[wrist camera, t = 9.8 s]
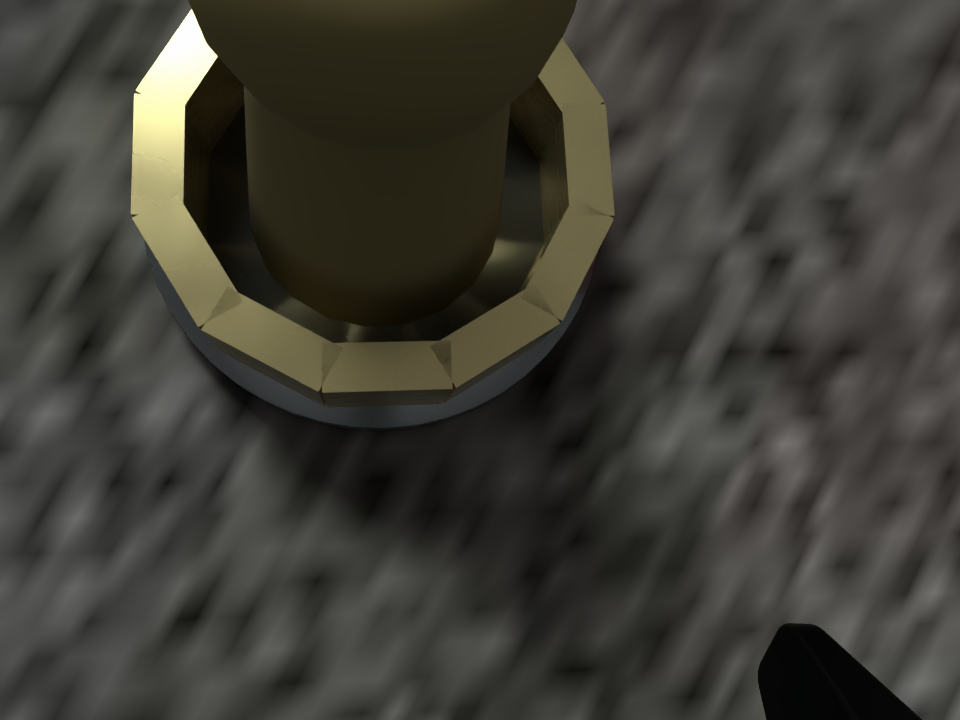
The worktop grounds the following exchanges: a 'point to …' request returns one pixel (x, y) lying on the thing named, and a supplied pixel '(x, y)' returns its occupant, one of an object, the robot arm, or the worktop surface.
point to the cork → (379, 140)
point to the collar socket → (345, 346)
